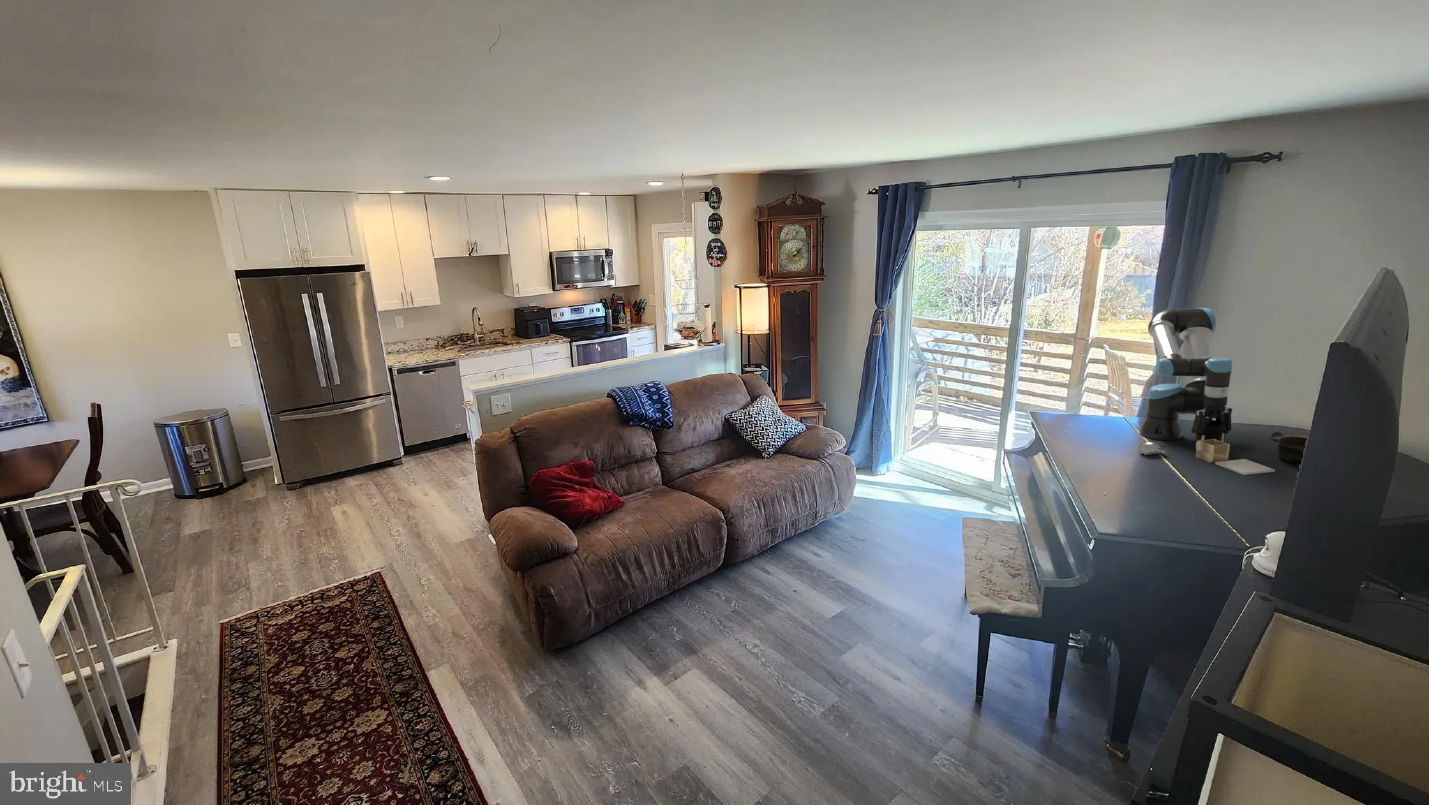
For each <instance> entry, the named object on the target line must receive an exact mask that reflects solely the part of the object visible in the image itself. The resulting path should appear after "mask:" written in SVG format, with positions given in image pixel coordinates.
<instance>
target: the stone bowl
mask: <svg viewBox="0 0 1429 805" xmlns="http://www.w3.org/2000/svg"><path fill="white" fill-rule="evenodd" d="M1268 440H1270V441H1273V442H1275V443H1278V446H1277V448H1276V452H1277V453H1276V455H1277V457H1278V458H1279V459H1281V460H1283V461H1287V462H1303V461H1302V458H1303V451H1304V448H1305V442H1306V440H1307V435H1295V434H1287V435H1286V434H1284V433H1282V432H1278V431H1276V432H1273V433H1272V434H1271V436H1270V437H1268Z"/></svg>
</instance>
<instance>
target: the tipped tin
mask: <svg viewBox="0 0 1429 805" xmlns="http://www.w3.org/2000/svg"><path fill="white" fill-rule="evenodd" d="M1138 452H1139V454H1140V453H1142V454H1144V455H1143V456H1151V455H1158V454H1160V453H1161V454H1165V453H1166V452H1167V445H1166V444H1165V442H1163V441H1154V442H1153V441H1151V442H1145V443H1143V442H1142V443H1139V445H1138ZM1142 454H1141V455H1142Z"/></svg>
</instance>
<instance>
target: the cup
mask: <svg viewBox="0 0 1429 805" xmlns="http://www.w3.org/2000/svg"><path fill="white" fill-rule="evenodd" d="M1223 428H1224V423H1222V425H1219V424H1217V422H1216V419H1212V420H1211V421H1210V422H1209V424H1206V429H1205V431H1204V433H1203V435H1205V438H1204V440H1210V439H1216V440H1219V441H1220V439H1221V435H1222V432H1223Z"/></svg>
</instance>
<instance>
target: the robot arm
mask: <svg viewBox="0 0 1429 805" xmlns="http://www.w3.org/2000/svg"><path fill="white" fill-rule="evenodd" d="M1216 322H1217V320H1216V314H1215V313H1214V311H1213V310H1212V309H1211V308H1208V307H1197V308H1196V307H1195V308H1169V309H1165V310H1162V311H1160V312H1158V313H1156V314H1155V315H1154V316H1153V317H1152V318H1151V319H1150V320H1149V323H1148V326H1147V330H1148V334H1149V335H1150V337H1152V338H1153V341H1154V345H1155V347H1156V350H1157V354H1158V357H1159V359H1157V360H1156V365H1155V371H1156V372H1155V373H1156V374H1157V376H1161V377H1187V383H1186V384H1185V385H1184V387H1183V386H1182V385H1181V384H1179V383H1161V384H1156V385H1152V386H1151V387H1150V388H1149V390H1148V392H1147V397H1146V398H1147V402H1146V403H1147V404H1146V414H1145V419H1144V421H1143V423H1142V425H1141V427H1140V428H1139V434H1140V436H1142V437H1145V438H1149V439H1152V440H1161V441H1162V440H1164V441H1174V440H1175V441H1176V440H1178V439H1179V440H1180V439H1181V438H1182V436H1183V434H1182V433H1183V432H1182V428H1181V425H1180V422H1179V418H1180V417H1179V415H1195V416H1194V420H1193V423H1192V427H1191V433H1192V434H1195V442H1196V444H1195V449H1197V441H1200V440H1204V438H1205V435H1203V433H1204V431H1205V429H1206V424H1209V422H1210V421H1211V420H1216V422H1217V424H1219V425H1222V423H1224V428H1223V432H1222V435H1221V439H1220V441H1222V442H1224V440H1225V439H1226V434H1229V432H1231V431H1232V413H1233V408H1231V407H1227V405H1228V398H1229V397H1228V396H1229V390H1230V382H1231V375H1232V370H1233V361H1232V359H1230V358H1226V357H1217V356H1216V357H1212V356H1211V353H1210V345H1209V337H1210V336H1211V335H1212V333H1213V332H1214V331H1215V330H1216V326H1217V324H1216ZM1175 334H1176V335H1177V334H1178V336H1179V339H1180V340H1182V341H1183V346H1184V355H1185V356H1184V358H1183V357H1182V354H1181V350H1180V349H1179V345H1178V342H1177V339H1176V337H1175Z"/></svg>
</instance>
